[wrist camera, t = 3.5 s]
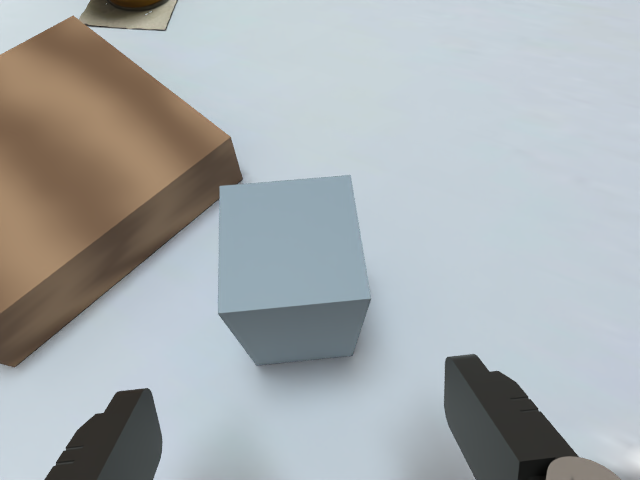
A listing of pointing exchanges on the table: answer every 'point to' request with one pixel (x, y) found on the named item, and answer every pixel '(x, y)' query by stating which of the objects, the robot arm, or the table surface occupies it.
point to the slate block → (292, 268)
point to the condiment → (128, 13)
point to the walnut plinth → (90, 177)
